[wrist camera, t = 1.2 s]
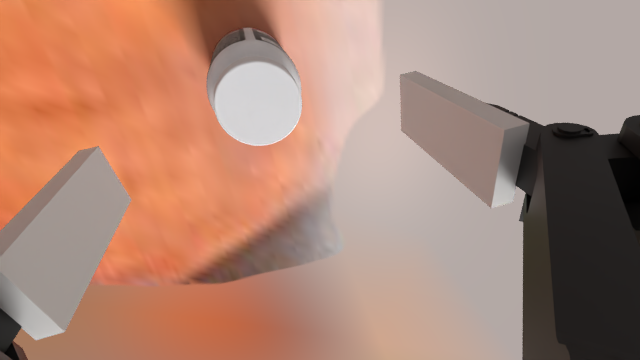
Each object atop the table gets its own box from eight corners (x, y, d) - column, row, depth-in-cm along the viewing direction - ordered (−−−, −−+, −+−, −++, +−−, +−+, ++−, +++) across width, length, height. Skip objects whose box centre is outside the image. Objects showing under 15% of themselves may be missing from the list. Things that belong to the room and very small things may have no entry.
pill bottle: (221, 105, 26) (215, 161, 18) (204, 30, 23) (186, 55, 15) (290, 96, 27) (314, 146, 19) (282, 23, 24) (306, 43, 16)
